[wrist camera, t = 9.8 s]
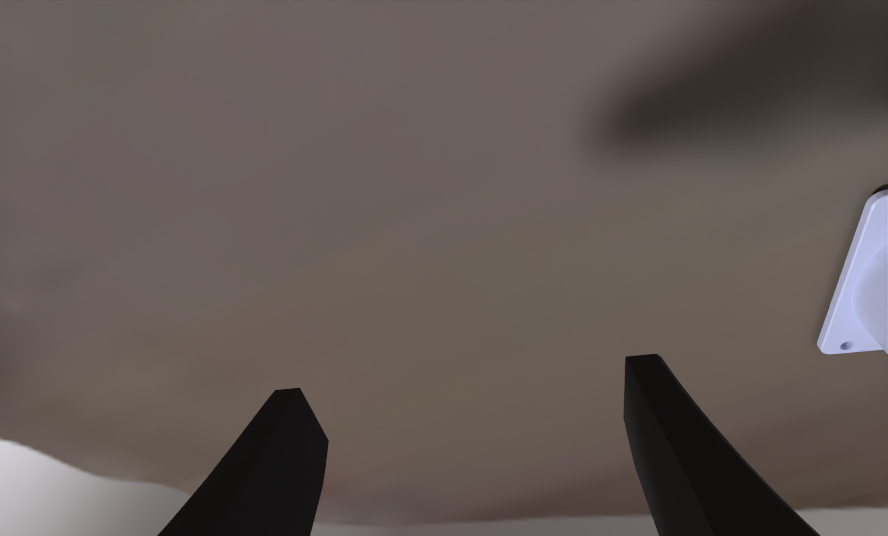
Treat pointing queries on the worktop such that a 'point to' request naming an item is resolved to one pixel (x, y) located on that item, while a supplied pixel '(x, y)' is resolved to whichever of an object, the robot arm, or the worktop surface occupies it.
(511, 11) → the worktop surface
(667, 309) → the worktop surface
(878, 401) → the worktop surface
